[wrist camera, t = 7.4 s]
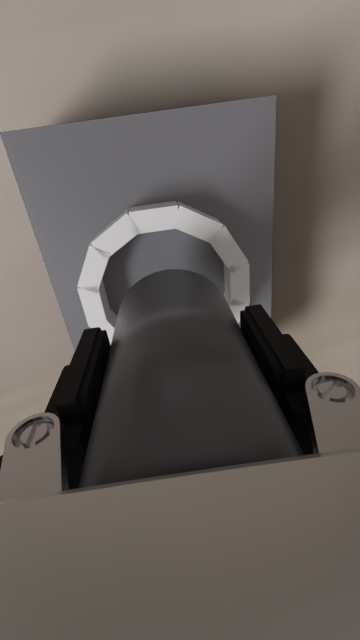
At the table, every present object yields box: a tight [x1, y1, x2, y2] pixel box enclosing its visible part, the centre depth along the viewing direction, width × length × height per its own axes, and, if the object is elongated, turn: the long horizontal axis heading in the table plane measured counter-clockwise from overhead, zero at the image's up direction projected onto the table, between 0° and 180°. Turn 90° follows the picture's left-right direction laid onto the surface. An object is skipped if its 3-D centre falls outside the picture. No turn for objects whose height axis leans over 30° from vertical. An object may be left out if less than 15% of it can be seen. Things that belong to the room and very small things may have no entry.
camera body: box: [0, 95, 277, 350], centre depth 19 cm, size 16×12×7 cm
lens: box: [78, 269, 304, 488], centre depth 10 cm, size 5×5×9 cm
